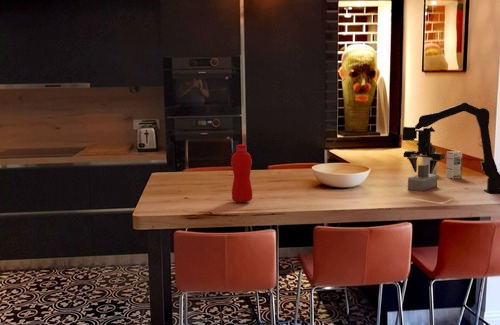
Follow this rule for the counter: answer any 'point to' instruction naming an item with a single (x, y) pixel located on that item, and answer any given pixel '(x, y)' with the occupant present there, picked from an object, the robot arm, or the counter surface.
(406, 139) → the robot arm
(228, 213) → the counter surface
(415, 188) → the tub
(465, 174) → the counter surface
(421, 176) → the lid
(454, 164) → the syrup box
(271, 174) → the counter surface
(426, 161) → the supplement box
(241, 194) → the water bottle
